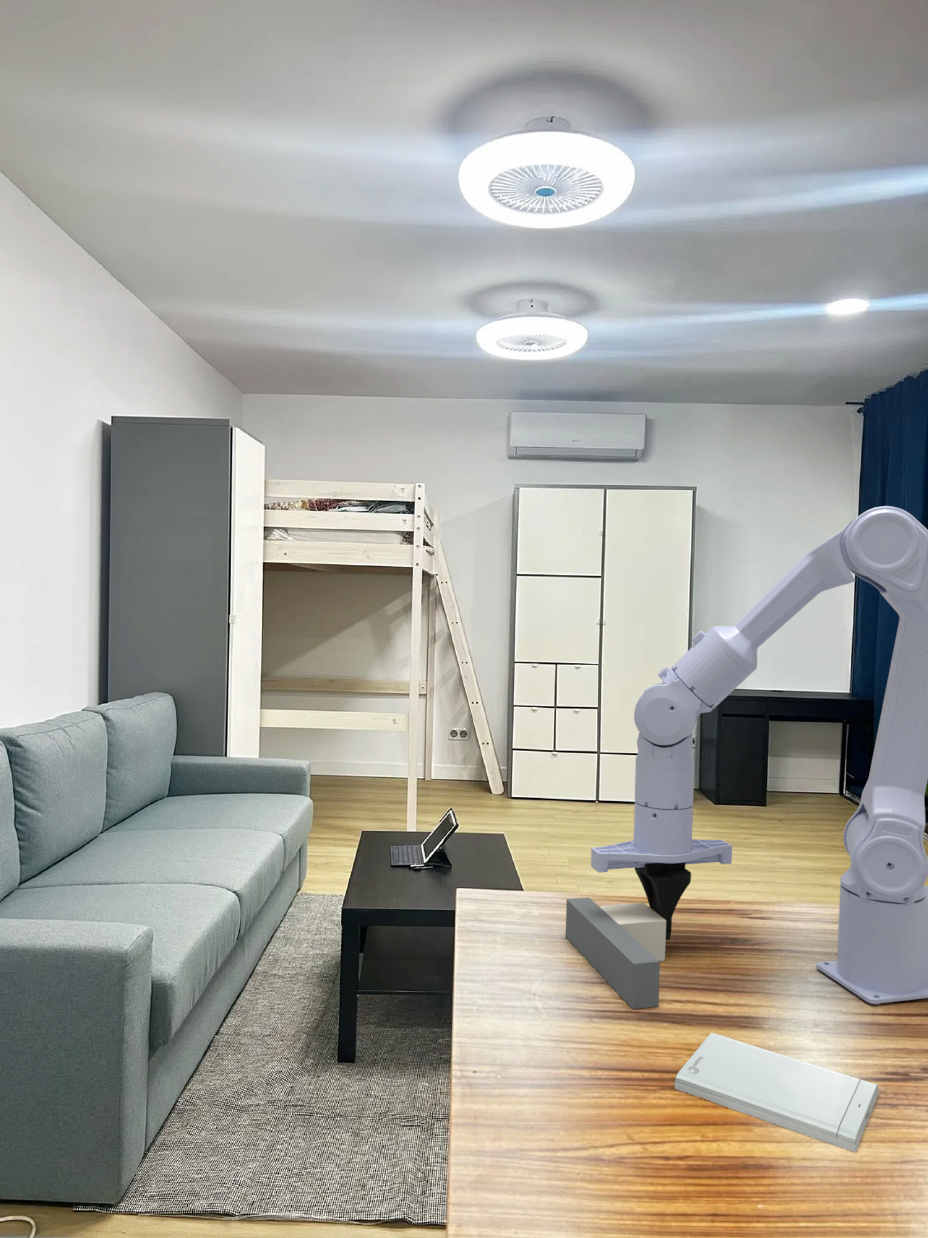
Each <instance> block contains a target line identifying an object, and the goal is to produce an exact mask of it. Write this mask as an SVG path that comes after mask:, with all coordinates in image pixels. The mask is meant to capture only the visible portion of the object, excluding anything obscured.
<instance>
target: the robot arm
mask: <svg viewBox="0 0 928 1238" xmlns="http://www.w3.org/2000/svg"><path fill="white" fill-rule="evenodd" d="M854 575H855V576H856V577H858V578H860V579H861V580H863V581H864V582H866V583H868V584H870V585H871V586H873V587H874V588H876V590H878V592H879V594H881V595H882V597H883V598H884V599H885V600H886V601H887V603H888V604H889V605H890V607H892V608H893V610H894V611H895V612H896V613H897V615H898V616H899V619H898V626H897V630H896V636H895V641H894V644H893V645H894V646H893V651H892V655H891V662H890V666H889V673H888V676H887V677H888V678H887V682H886V685H885V686H886V687H885V692H884V697H883V702H882V708H881V714H880V718H879V723H878V728H877V733H876V739H875V744H874V749H873V754H872V758H871V763H870V770H869V776H868V779H867V781H866V784H865V785H864V787H863V790H862V792H861V798H860V802H859V805H858V807H857V809H856V811H855V812H854V813H853V814H852V815H851V817H850V818H849V819H848V820H847V822H846V824H845V826H844V830H843V837H842V838H843V839H842V840H843V845H844V847H845V850H846V852H847V854H848V856H849V858H850V865H849V868H848V869H847V870H846V871H845V872H844V873H843V874H842V875H841V876H840V879H839V881H840V885H839V904H838V905H839V908H838V909H839V910H838V931H837V932H838V933H837V936H838V937H837V958H836V960H829V961H819V962H816V966H815V967H816V969H818V970H819V971H821V972H822V973H824V974H825V975H826V976H828V977H829V978H831V979H832V980H834V981H836V982H837V983H839V984H840V985H841V986H843V987H844V988H846V989H848V990H849V991H850V992H852V993H853V994H855V995H856V996H858V997H859V998H861V999H862V1000H863V1001H865V1002H867V1003H869V1004H872V1005H877V1004H884V1003H893V1002H901V1001H902V1002H903V1001H911V1000H912V1001H914V1000H920V999H928V886H927V885H925V883H926V881H927V879H928V855H927V852H926V850H925V847H924V833H925V829H926V806H925V795H926V789H927V785H928V529H927V527H925V526H924V525H923V524H922V523H921V522H920V521H919V520H917V518H916V517H914V515H912V514H911V513H910V512H908V511H906V510H904V509H902V508H899V507H895V506H890V505H884V506H877V507H876V506H875V507H873V508H871V509H870V508H869V509H867V510H866V511H864V512H863V513H861V514H860V515H858V516H857V517H856V518H854V519H853V520H851V521H850V522H848V524H847V525H846V526H845V527H844V529H840V530H839V531H838V532H836V533H835V534H833V535H832V536H830V537H829V538H828V539H826V540H824V541H823V542H822V543H820V544H819V545H818V546H816V547H815V548H813V549H812V550H810V551H809V552H808V553H806V554H805V555H804V556H803V557H801V558H800V559H799V560H798V561H797V562H796V563H795V564H794V566H792V568H790V569H789V571H787V572H786V574H785V575H783V577H781V578H780V579H779V580H778V581H777V583H775V584H774V585H773V586H772V587H771V588H770V590H768V592H766V594H764V596H763V597H762V598H760V600H759V601H758V602H757V603H755V605H754V606H753V607H752V608H750V610H749V611H748V612H746V614H745V615H744V616H743V617H742V618H741V619H740V620H739V621H738V622H737V623H736V624H734V625H733V626H732V625H728V626H727V625H713V626H712V627H711V628H710V629H709V630H708V631H707V632H704V630H700V631H699V632H697V633H696V634H695V635H694V637H692V638H691V641H692V642H693V643H694V644H693V645H692V647H690V649H688V651H686V652H685V653H684V654H683V655H682V656H681V657H680V658H679V659H678V660H677V661H676V662H675V663H674V664H673V665H672V666H671V667H670V668H668V667H665V666H664V667H663V668H662V669H661V670H660V671H659V672H658V673H657V676H658V678H660V680H661V681H662V682H658V683H656V684H653V685H652V686H650V687H648V688H646V689H645V690H644V691H643V694H641V696H640V697H639V699H638V700H637V702H636V704H635V708H634V712H633V713H634V714H633V720H634V723H635V727H636V729H637V731H638V734H637V735H638V736H637V739H636V744H637V754H636V756H635V773H634V774H635V776H634V777H635V778H634V780H635V781H634V810H633V811H634V812H633V816H634V817H633V840H628V841H625V842H623V841H622V842H619V843H615V844H610V845H604V846H596V847H595V846H594V847H591V848H590V849H591V850H590V851H591V853H590V867H591V868H593V870H595V871H596V872H597V873H608V872H609V870H622V869H634V871H635V873H636V875H637V877H638V880H639V881H640V884H641V885H642V889H643V891H644V892H645V896H646V899H647V902H648V906H649V907H650V908H651V909H652V910H654V911H655V912H656V913H657V914H659V915H660V916H661V917H662V918H664V919H665V920H666V941H670V940H671V936H672V926H673V925H672V922H673V920H672V919H673V915H674V913H675V910H676V908H677V905H678V903H679V901H680V899H681V897H682V896H683V894H684V893H685V891H686V889H687V888H688V887H689V885H690V884H691V881H692V872H691V871H689V869H687V868H686V865H694V864H695V865H697V864H709V863H711V864H712V863H719V864H721V865H730V864H732V857H733V845H732V844H730V843H728V842H727V841H725V840H723V839H693V824H694V823H693V822H694V820H693V818H694V787H695V785H694V784H695V783H694V782H695V759H694V756H693V738H694V734H693V732H694V729H695V727H696V724H697V722H698V720H699V716H700V715H701V714H704V713H710V712H712V711H713V710H714V709H715V708H717V706H718V705H720V703H722V702H723V701H724V699H726V698H727V697H728V696H729V695H730V694H731V693H732V692H733V691H734V690H735V689H736V688H738V686H739V685H741V684H742V683H743V682H744V681H745V680H746V679H747V678H748V677H749V676H750V675H752V674H753V673H754V672H755V671H756V670H757V669H758V649H759V647H761V645H763V644H764V643H765V642H766V641H767V640H768V639H770V638H771V637H772V636H773V635H774V634H775V633H776V632H777V631H778V630H780V629H781V627H783V626H784V625H785V624H786V623H787V622H789V621H790V620H791V619H792V618H793V617H795V616H796V614H797V613H799V612H800V611H802V609H803V608H804V607H805V606H806V605H808V604H809V603H810V602H811V601H812V600H813V599H814V598H815V597H817V596H818V595H819V594H821V593H822V592H824V591H828V590H831V589H835V588H838V587H841V586H845V585H848V584H851V583H855V582H856V579H855V577H854Z"/></svg>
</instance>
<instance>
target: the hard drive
mask: <svg viewBox="0 0 928 1238" xmlns="http://www.w3.org/2000/svg"><path fill="white" fill-rule="evenodd" d="M676 1089H677V1091H679V1092H682V1091H683V1092H682V1093H685V1092H687V1093H688V1095H690V1094H692V1095H691V1096H693V1095H694V1096H693V1097H696V1096H697V1097H696V1098H699V1097H702V1098H704V1099H706V1100H705V1101H707V1100H710V1101H711V1102H710V1101H709V1102H710V1103H713V1102H714V1103H713V1104H716V1103H717V1104H716V1105H719V1106H722V1107H724V1108H727V1107H728V1109H730V1110H733V1111H736V1112H739V1113H741V1114H744V1113H745V1115H747V1116H750V1115H751V1116H750V1117H753V1118H756V1117H757V1118H756V1119H758V1120H762V1121H764V1120H765V1122H767V1123H771V1124H773V1125H775V1126H776V1125H777V1126H778V1125H779V1127H781V1126H782V1127H783V1128H785V1129H788V1130H790V1131H793V1132H797V1133H799V1134H802V1135H805V1136H808V1137H811V1138H813V1139H816V1140H818V1141H822V1142H825V1143H827V1144H830V1145H833V1146H836V1147H839V1148H842V1149H845V1150H847V1151H850V1152H853V1153H856V1152H857V1151H858V1150H857V1149H858V1147H859V1145H860V1142H861V1140H862V1137H863V1135H864V1133H865V1129H866V1128H867V1127H866V1126H867V1125H868V1121H869V1120H870V1118H871V1115H872V1112H873V1110H874V1107H875V1105H876V1102H877V1099H878V1098H879V1085H878V1084H876V1083H873V1082H870V1081H868V1080H864V1079H860V1078H857V1077H854V1076H852V1075H848V1074H844V1073H842V1072H839V1071H836V1070H832V1069H829V1068H826V1067H823V1066H820V1065H816V1064H813V1063H810V1062H807V1061H805V1060H801V1059H798V1058H794V1057H791V1056H788V1055H784V1054H781V1053H779V1052H774V1051H771V1050H769V1049H765V1048H762V1047H759V1046H757V1045H752V1044H749V1043H747V1042H743V1041H740V1040H736V1039H734V1038H731V1037H727V1036H724V1035H720V1034H717V1033H714V1032H711V1033H710V1034H709V1035H708V1036H706V1038H705V1040H704V1041H703V1042H702V1043H701V1044H700V1046H698V1048H697V1049H696V1051H695V1052H694V1053H693V1054H692V1055H691V1056H690V1057H689V1059H688V1060H687V1061H686V1062H685V1064H684V1065H683V1066H682V1068H681V1069H680V1070H679V1071H678V1072H677V1074H676V1076H675V1080H674V1090H676ZM687 1093H686V1094H687ZM702 1098H701V1099H702ZM704 1099H703V1100H704Z"/></svg>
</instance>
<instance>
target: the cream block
mask: <svg viewBox="0 0 928 1238" xmlns="http://www.w3.org/2000/svg"><path fill="white" fill-rule="evenodd" d="M598 906H599V907H600V908H601V909H602V910H604V911H605V912H606V913H607V914H608V915H609V916H610V917H611V918H612V919H613V920H615V921H616V922H617V923H618V924H619V925H620V926H621V927H622V928H624V929H625V930H626V931H627V932H628V933H629V934H630V935H631V936H632V937H634V938H635V939H636V940H637V941H638V942H639V943H640V944H641V945H642V946H644V947H645V948H646V949H647V950H648V951H649V952H650V953H651V954H652V955H654V956H655V957H656V958H657V959H658V960H659V961H660V962H663V961H665V960H666V943H667V942H666V941H667V940H666V920H665V919H664V918H662V917H661V916H660V915H659V914H657V913H656V912H655V911H654V910H652V909H651V908H650V906H649V905H647V903H645V902H634V903H633V902H632V903H619V904H618V903H617V904H607V905H604V904H603V905H598Z"/></svg>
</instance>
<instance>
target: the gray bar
mask: <svg viewBox="0 0 928 1238" xmlns="http://www.w3.org/2000/svg"><path fill="white" fill-rule="evenodd" d="M599 906H600V905H598V904H597V903H596V902H595V901H593V900H592V898H590V897H578V898H566V910H565V913H566V914H565V939H567V940H568V941H569V942H570V944H571V945H573V947H574V948H575V949H576V950H577V951H578V952H579V954H581V956H582V957H583V958H584V959H585V960H586V961H587V962H588V963H589V964H590V965H591V967H592V968H594V970H596V972H597V973H598V974H599V975H600V976H601V978H603V979H604V980H605V982H606V983H607V984H608V985H609V986H610V987H612V989H613V990H614V991H615V992H616V994H617V995H619V997H620V998H621V999H622V1000H623V1001H624V1002H625V1003H626V1004H627V1005H628V1006H629V1007H630V1008H631V1010H635V1009H636V1010H637V1009H646V1008H655V1007H656V1008H657V1007H659V1005H660V1004H659V1002H660V1001H659V1000H660V999H659V998H660V977H661V975H660V974H661V973H660V972H661V971H660V970H661V961H659V960H658V959H657V958H656V957H655V956H654V955H652V954H651V953H650V952H649V951H648V950H647V949H646V948H645V947H644V946H642V945H641V944H640V943H639V942H638V941H637V940H636V939H635V938H634V937H632V936H631V935H630V934H629V933H628V932H627V931H626V930H625V929H624V928H622V927H621V926H620V925H619V924H618V923H617V922H616V921H615V920H613V919H612V918H611V917H610V916H609V915H608V914H607V913H606V912H605V911H604V910H602V909H601V908H600V907H599Z"/></svg>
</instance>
